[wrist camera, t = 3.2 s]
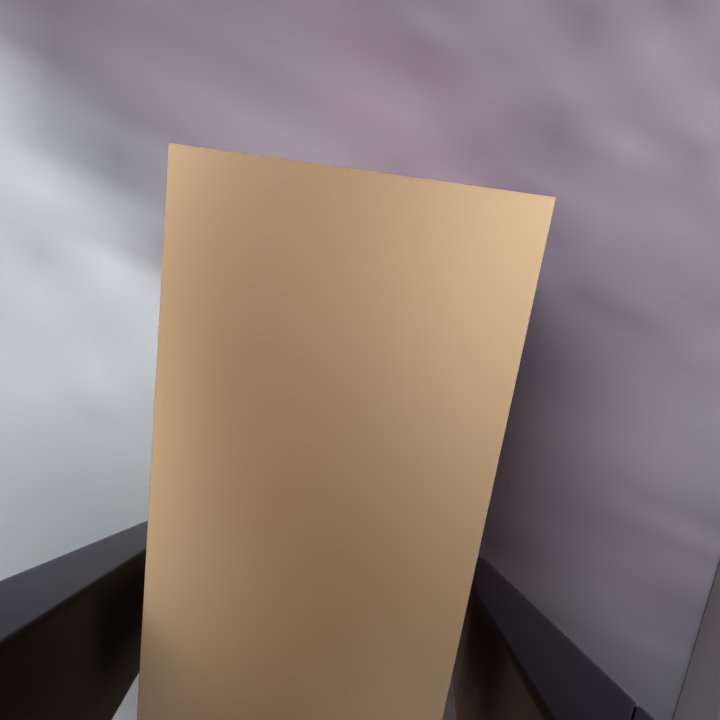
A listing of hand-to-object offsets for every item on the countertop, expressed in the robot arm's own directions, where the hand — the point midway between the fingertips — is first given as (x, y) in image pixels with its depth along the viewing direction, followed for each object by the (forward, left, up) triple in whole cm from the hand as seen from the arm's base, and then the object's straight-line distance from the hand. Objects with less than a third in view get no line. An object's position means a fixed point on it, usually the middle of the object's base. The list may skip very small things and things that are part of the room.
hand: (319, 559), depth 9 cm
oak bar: (0, 0, -2) cm, 2 cm away
